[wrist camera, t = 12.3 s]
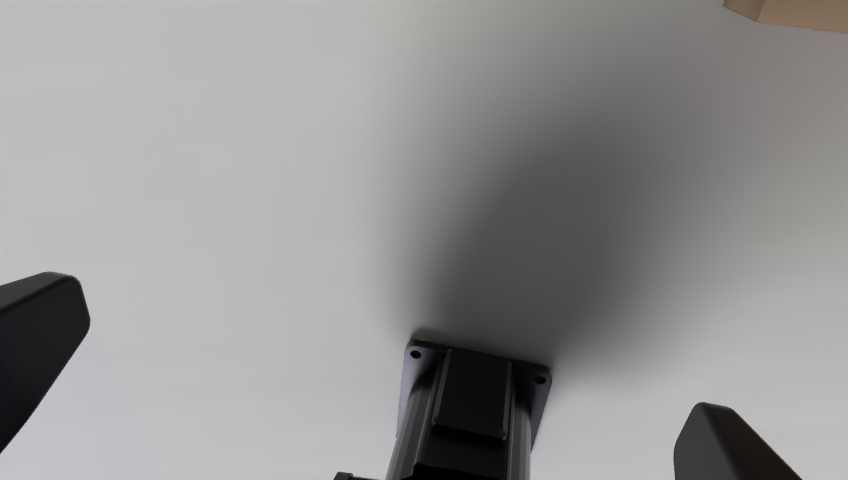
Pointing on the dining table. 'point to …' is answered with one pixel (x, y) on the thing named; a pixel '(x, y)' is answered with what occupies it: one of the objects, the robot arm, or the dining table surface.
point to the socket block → (795, 13)
